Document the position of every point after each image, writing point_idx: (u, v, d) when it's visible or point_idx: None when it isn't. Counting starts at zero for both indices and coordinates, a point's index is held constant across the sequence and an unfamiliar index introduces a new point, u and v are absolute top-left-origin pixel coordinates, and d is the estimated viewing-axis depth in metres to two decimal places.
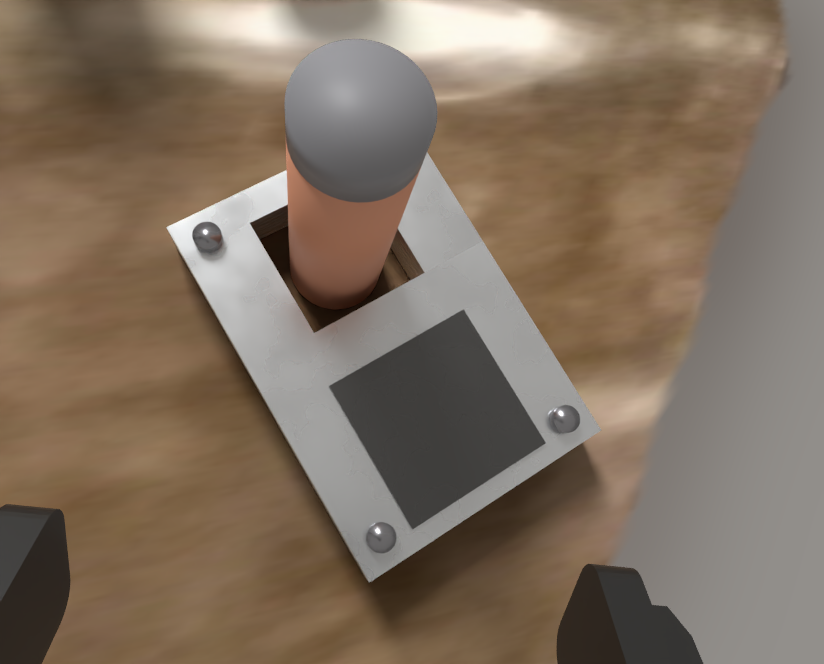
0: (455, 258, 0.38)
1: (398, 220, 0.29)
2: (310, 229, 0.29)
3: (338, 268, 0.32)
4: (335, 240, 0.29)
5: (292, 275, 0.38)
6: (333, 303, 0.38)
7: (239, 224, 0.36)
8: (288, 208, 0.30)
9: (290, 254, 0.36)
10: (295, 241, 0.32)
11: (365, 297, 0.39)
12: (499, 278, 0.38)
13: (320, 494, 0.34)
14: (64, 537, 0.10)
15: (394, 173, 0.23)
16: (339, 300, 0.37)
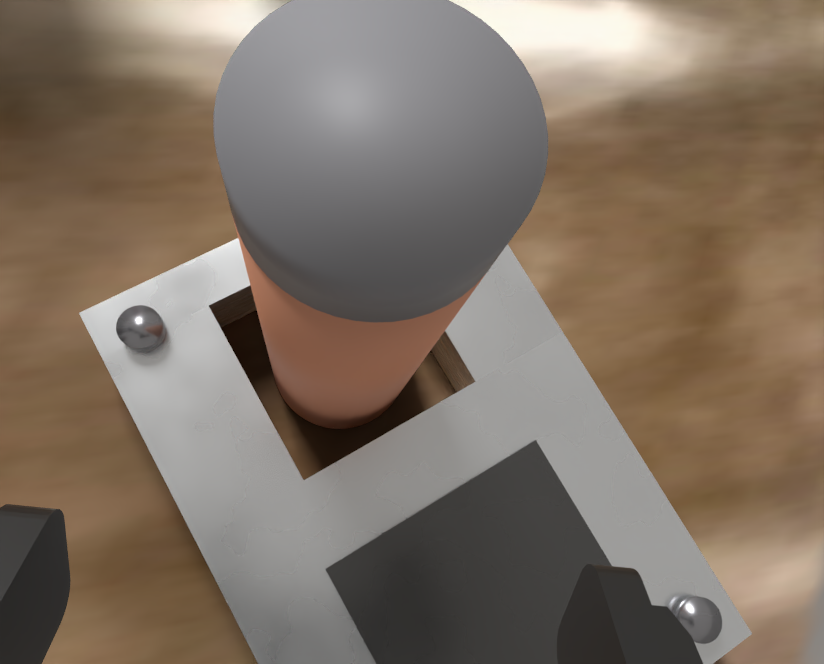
0: (521, 358, 0.25)
1: None
2: (288, 347, 0.16)
3: (340, 395, 0.19)
4: (332, 368, 0.16)
5: None
6: (336, 424, 0.25)
7: (192, 307, 0.24)
8: None
9: None
10: (270, 349, 0.19)
11: (384, 411, 0.26)
12: (589, 389, 0.25)
13: None
14: (64, 537, 0.10)
15: (456, 273, 0.10)
16: (344, 422, 0.24)
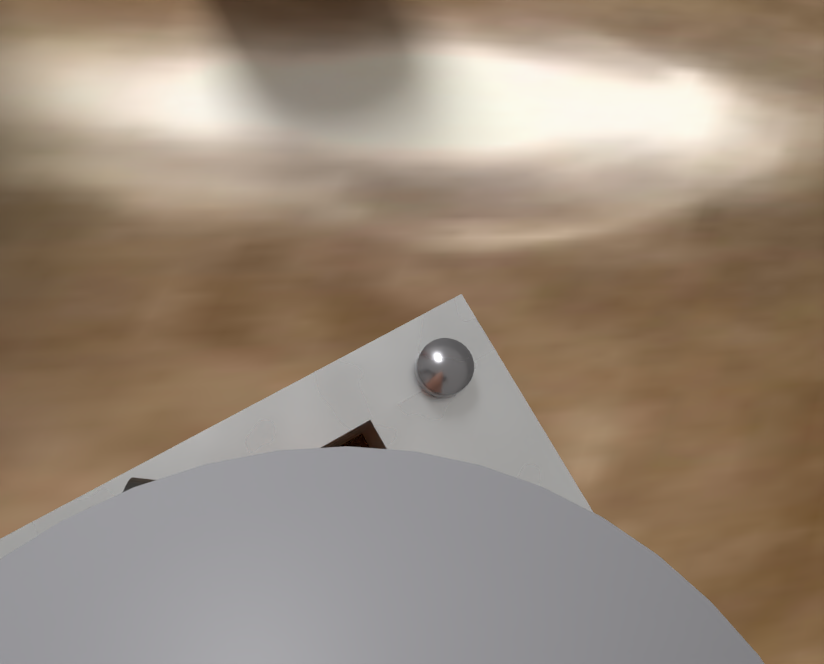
0: None
1: None
2: None
3: None
4: None
5: None
6: None
7: None
8: None
9: None
10: None
11: None
12: None
13: None
14: None
15: None
16: None
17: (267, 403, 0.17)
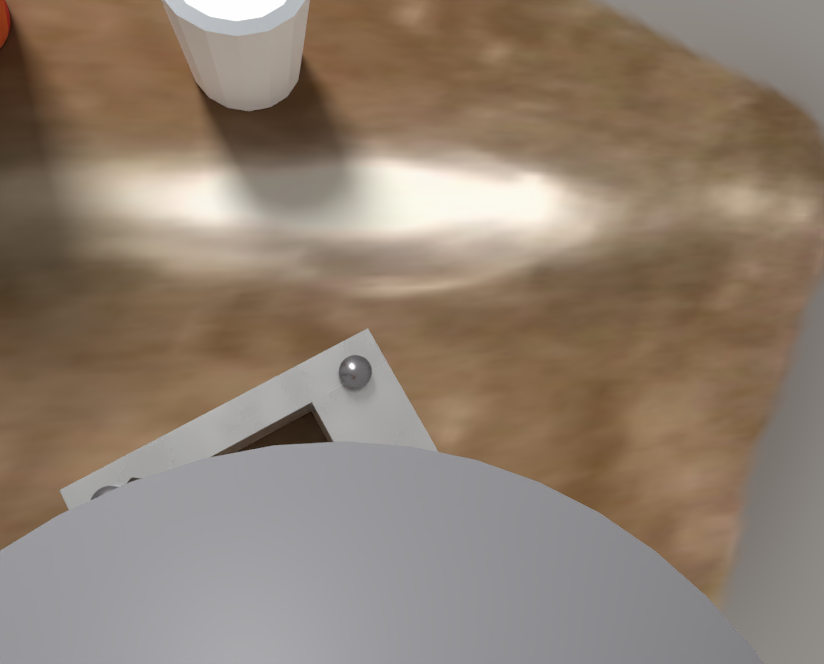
0: None
1: None
2: None
3: None
4: None
5: None
6: None
7: None
8: None
9: None
10: None
11: None
12: None
13: None
14: None
15: None
16: None
17: (252, 392, 0.30)
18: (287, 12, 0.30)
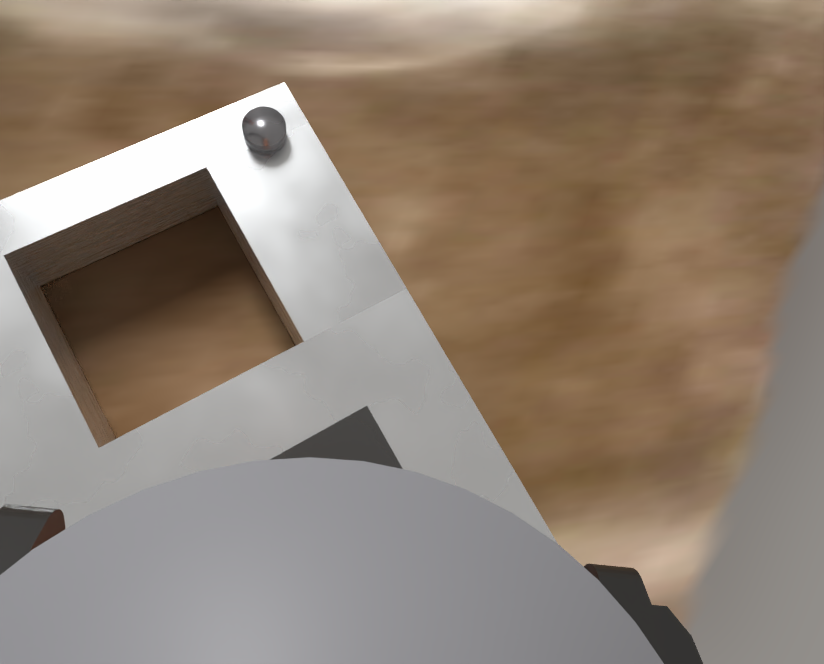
0: (358, 317, 0.22)
1: None
2: None
3: None
4: None
5: None
6: None
7: None
8: None
9: None
10: None
11: None
12: (433, 351, 0.22)
13: None
14: None
15: None
16: None
17: (126, 151, 0.23)
18: None
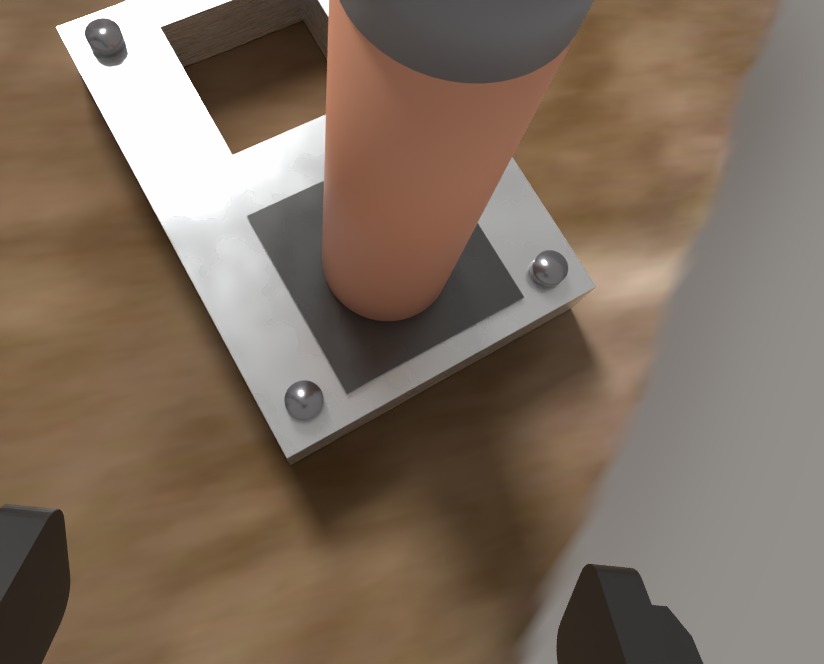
0: None
1: (511, 156, 0.17)
2: (364, 167, 0.17)
3: (402, 245, 0.20)
4: (406, 185, 0.17)
5: (325, 270, 0.26)
6: (384, 310, 0.26)
7: (146, 28, 0.29)
8: (326, 142, 0.19)
9: (324, 234, 0.24)
10: (335, 202, 0.20)
11: (429, 304, 0.27)
12: None
13: (229, 346, 0.26)
14: (64, 537, 0.10)
15: None
16: (394, 305, 0.25)
17: None
18: None
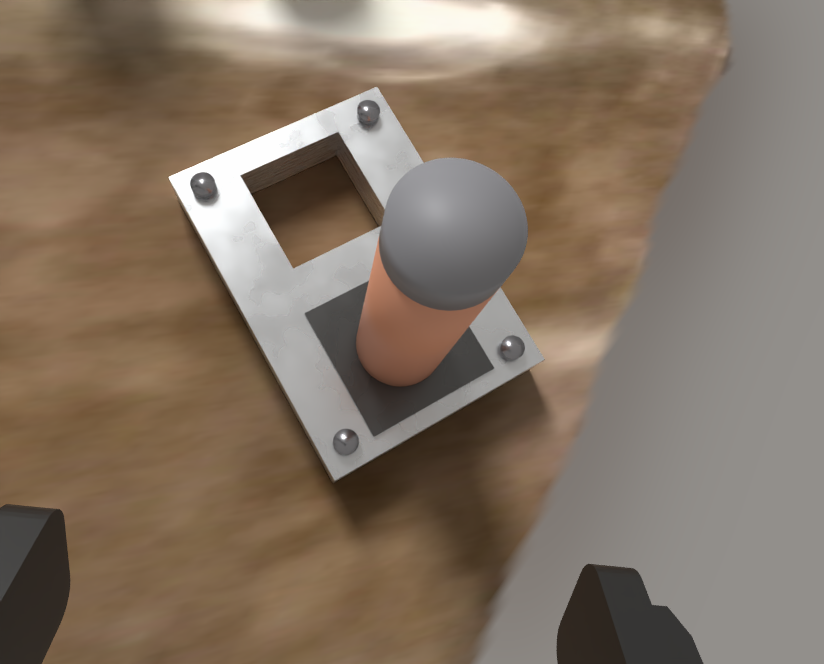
0: None
1: None
2: (392, 325, 0.30)
3: (412, 357, 0.33)
4: (416, 337, 0.30)
5: (359, 353, 0.39)
6: (399, 382, 0.39)
7: (231, 176, 0.42)
8: (368, 301, 0.31)
9: (361, 336, 0.37)
10: (371, 330, 0.33)
11: (429, 375, 0.40)
12: None
13: (294, 404, 0.39)
14: (64, 537, 0.10)
15: (487, 288, 0.24)
16: (406, 380, 0.38)
17: (297, 123, 0.43)
18: None
